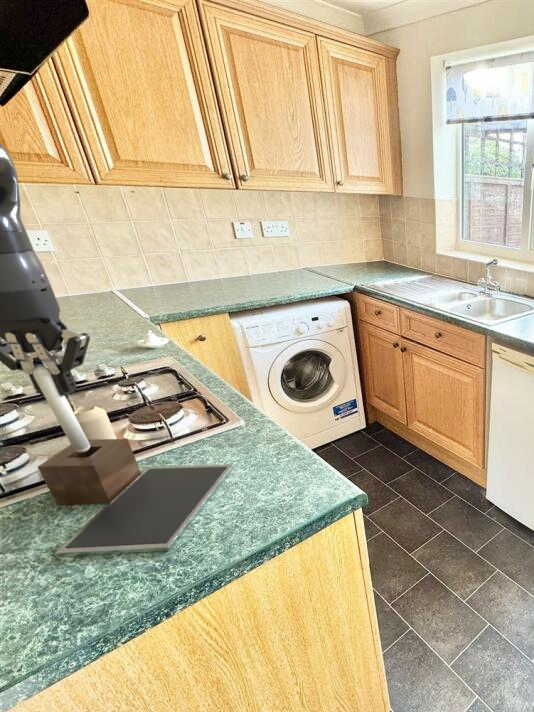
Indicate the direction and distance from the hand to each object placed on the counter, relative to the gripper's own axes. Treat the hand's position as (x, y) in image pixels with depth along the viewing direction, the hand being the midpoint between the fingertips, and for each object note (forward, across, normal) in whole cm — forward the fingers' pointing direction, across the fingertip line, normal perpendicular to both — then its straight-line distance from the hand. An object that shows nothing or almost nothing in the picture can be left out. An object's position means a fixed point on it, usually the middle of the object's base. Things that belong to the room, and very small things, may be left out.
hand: (58, 392), depth 66 cm
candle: (+19, -8, +12) cm, 24 cm away
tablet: (+19, +12, -5) cm, 23 cm away
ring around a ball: (+20, -33, +72) cm, 82 cm away
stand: (+19, 0, 0) cm, 19 cm away
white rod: (+11, 0, 0) cm, 11 cm away
